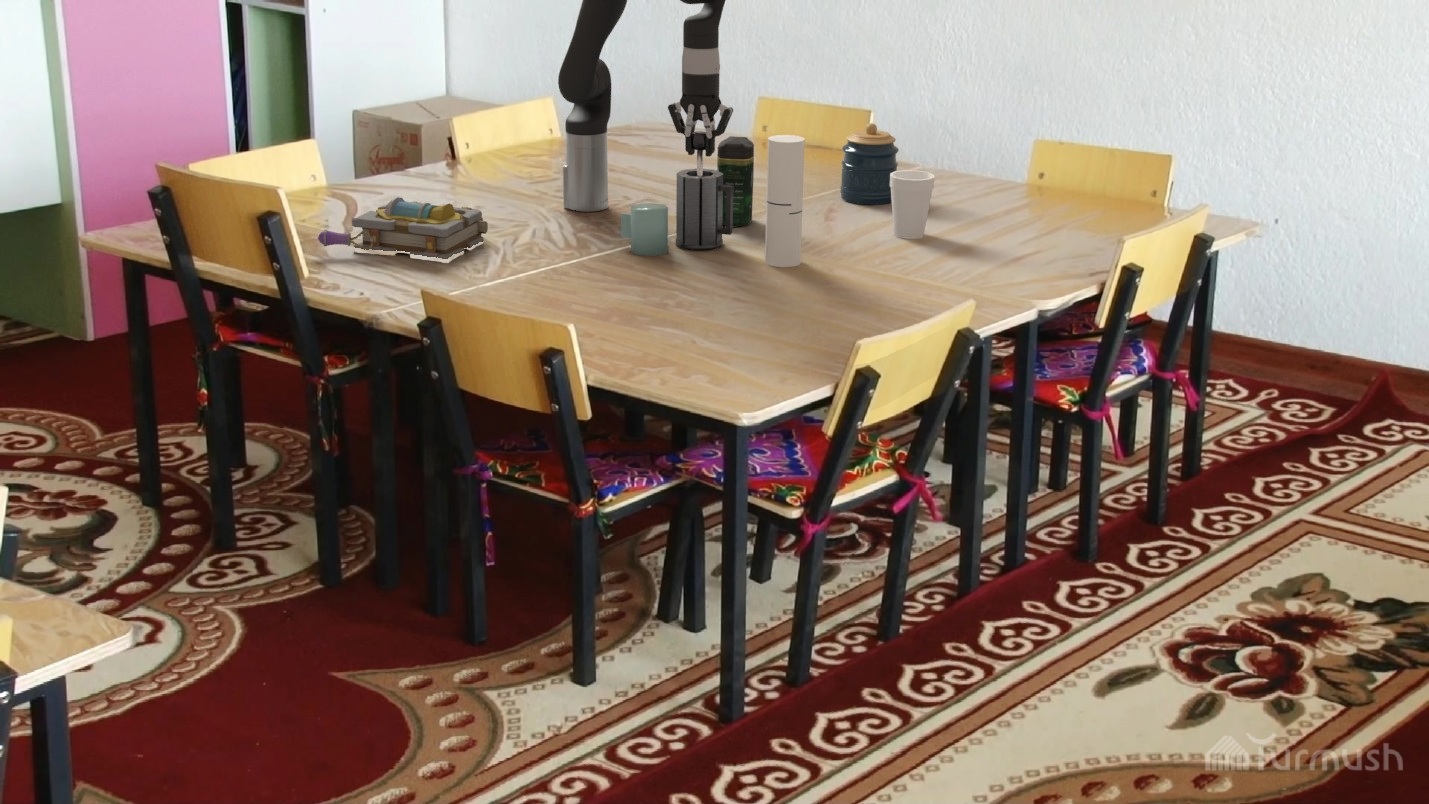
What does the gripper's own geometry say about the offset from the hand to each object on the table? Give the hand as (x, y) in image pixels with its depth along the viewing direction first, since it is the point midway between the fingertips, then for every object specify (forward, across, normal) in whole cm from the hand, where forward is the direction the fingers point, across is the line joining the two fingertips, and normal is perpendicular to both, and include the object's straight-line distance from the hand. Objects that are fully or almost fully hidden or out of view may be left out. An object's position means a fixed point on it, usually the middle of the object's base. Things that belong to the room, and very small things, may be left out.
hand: (700, 154), depth 321 cm
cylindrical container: (+19, +20, -6) cm, 28 cm away
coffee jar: (+19, +1, +20) cm, 28 cm away
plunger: (+13, 0, 0) cm, 13 cm away
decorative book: (+19, -55, -25) cm, 63 cm away
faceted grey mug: (+19, +1, 0) cm, 19 cm away
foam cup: (+19, +39, +24) cm, 50 cm away
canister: (+19, +23, +52) cm, 60 cm away
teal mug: (+19, -9, -8) cm, 23 cm away
